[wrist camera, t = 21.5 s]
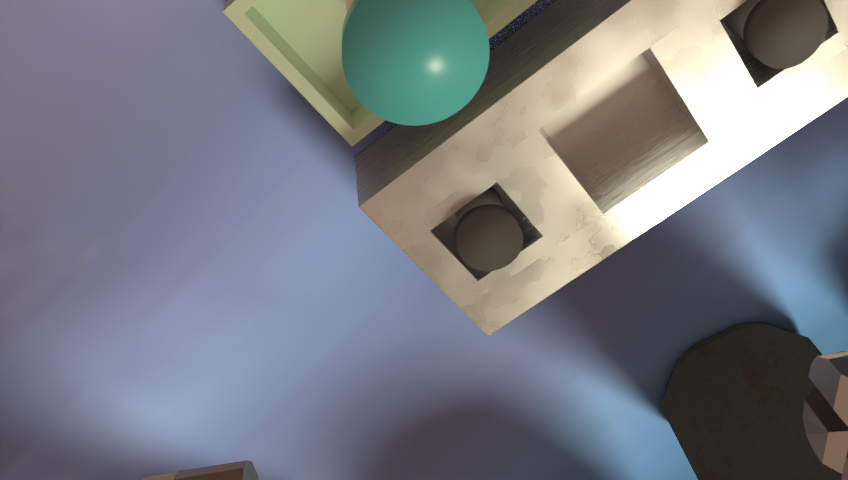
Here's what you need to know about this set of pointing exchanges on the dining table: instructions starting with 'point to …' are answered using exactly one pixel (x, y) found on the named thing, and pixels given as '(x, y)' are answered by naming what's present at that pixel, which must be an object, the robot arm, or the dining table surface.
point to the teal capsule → (414, 57)
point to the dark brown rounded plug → (780, 29)
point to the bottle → (745, 405)
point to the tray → (328, 50)
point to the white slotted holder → (590, 139)
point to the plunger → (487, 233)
